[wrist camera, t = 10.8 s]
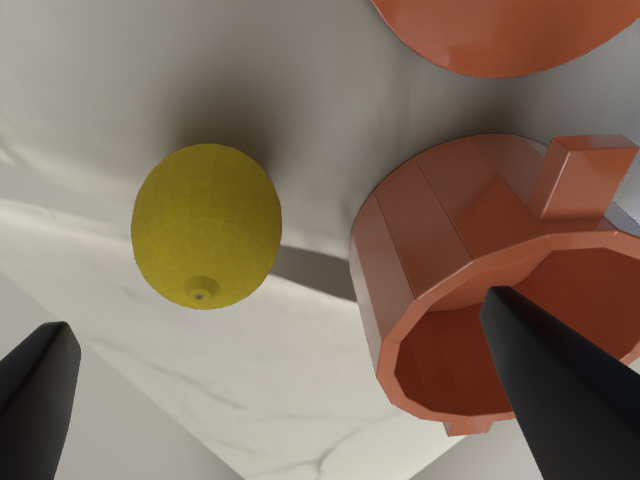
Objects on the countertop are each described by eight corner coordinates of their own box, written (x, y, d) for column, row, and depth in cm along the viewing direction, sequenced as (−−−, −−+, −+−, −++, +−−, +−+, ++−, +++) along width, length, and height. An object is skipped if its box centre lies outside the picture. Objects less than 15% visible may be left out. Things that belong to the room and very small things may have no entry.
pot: (642, 71, 19) (809, 151, 13) (517, 331, 31) (577, 436, 25) (362, 77, 18) (412, 168, 12) (340, 346, 29) (361, 459, 24)
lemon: (232, 87, 18) (219, 197, 11) (299, 186, 21) (317, 312, 15) (126, 151, 19) (62, 281, 13) (205, 235, 22) (185, 370, 16)
